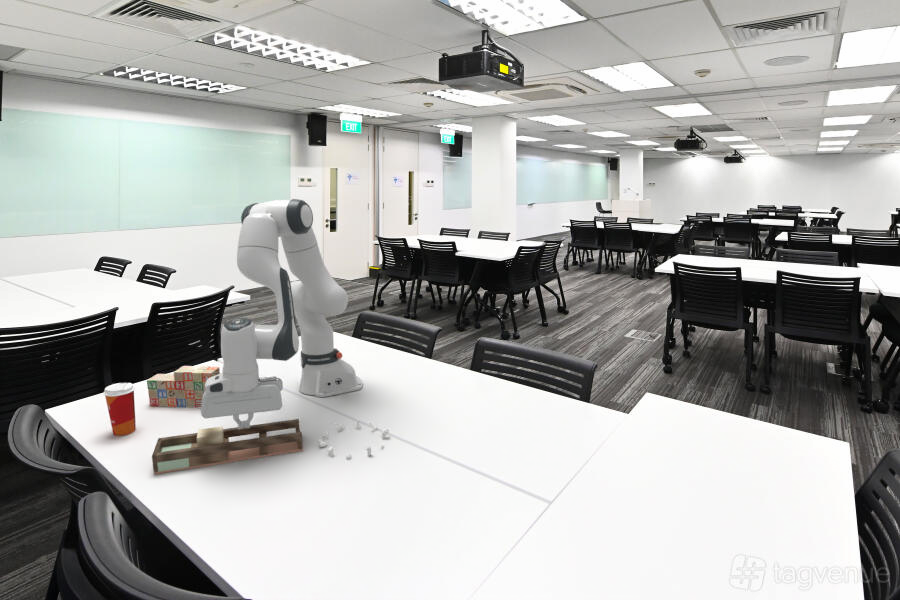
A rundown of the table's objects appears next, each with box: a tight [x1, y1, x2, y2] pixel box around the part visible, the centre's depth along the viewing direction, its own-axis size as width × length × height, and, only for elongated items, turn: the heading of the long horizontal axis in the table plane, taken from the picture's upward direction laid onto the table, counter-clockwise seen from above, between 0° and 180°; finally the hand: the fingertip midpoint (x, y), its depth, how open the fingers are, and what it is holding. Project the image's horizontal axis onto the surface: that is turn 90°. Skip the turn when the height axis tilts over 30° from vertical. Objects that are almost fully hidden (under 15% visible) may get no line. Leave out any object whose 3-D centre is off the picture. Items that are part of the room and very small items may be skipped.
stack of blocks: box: [146, 365, 221, 408], centre depth 169 cm, size 21×6×12 cm, turn 89°
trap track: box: [151, 418, 304, 475], centre depth 138 cm, size 36×10×5 cm, turn 111°
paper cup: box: [103, 382, 137, 437], centre depth 149 cm, size 8×8×14 cm
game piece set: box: [316, 418, 389, 460], centre depth 145 cm, size 19×20×4 cm
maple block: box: [197, 425, 224, 447], centre depth 136 cm, size 6×5×4 cm
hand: (244, 428), depth 139 cm, fingers closed
